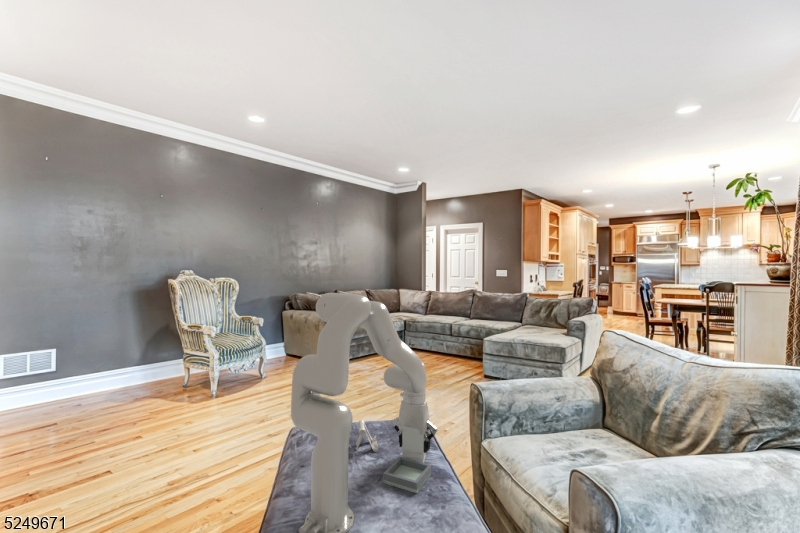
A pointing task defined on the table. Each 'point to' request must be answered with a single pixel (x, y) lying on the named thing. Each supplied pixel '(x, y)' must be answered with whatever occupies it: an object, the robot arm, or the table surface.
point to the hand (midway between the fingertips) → (414, 448)
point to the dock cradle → (407, 474)
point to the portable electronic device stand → (363, 432)
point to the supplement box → (412, 444)
